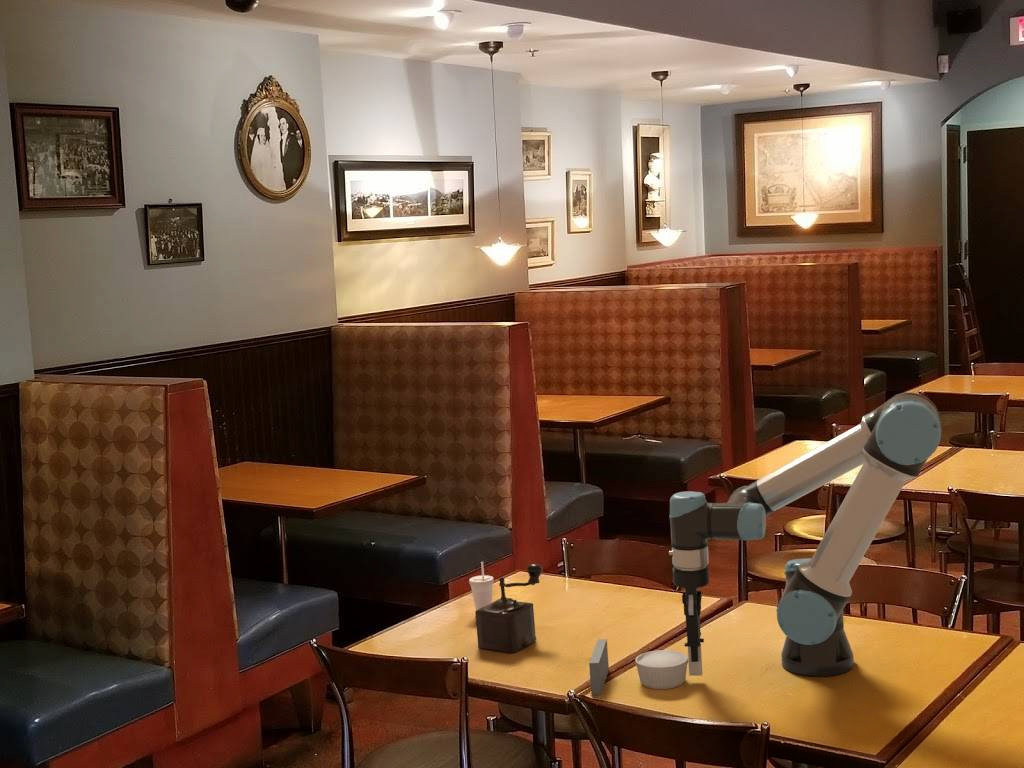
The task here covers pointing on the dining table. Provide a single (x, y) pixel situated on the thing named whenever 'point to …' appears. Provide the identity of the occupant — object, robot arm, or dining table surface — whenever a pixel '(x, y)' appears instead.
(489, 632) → the coffee grinder
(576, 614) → the dining table surface
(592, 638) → the dining table surface
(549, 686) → the dining table surface
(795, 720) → the dining table surface
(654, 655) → the ramekin
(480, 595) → the smoothie
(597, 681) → the board
